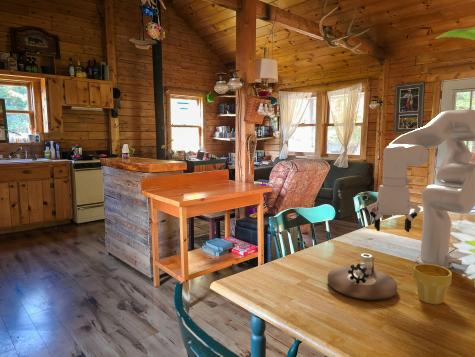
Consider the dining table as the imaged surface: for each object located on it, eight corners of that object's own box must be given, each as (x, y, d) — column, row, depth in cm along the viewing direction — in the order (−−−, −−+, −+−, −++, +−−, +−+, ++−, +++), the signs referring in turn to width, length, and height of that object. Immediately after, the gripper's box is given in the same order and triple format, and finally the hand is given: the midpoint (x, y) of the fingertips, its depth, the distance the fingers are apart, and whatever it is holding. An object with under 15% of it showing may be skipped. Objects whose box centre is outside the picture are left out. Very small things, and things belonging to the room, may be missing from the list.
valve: (357, 269, 121) (347, 281, 111) (358, 251, 120) (348, 262, 110) (376, 273, 117) (367, 286, 107) (377, 255, 116) (368, 266, 106)
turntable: (403, 280, 115) (404, 262, 114) (387, 307, 98) (389, 285, 97) (340, 265, 128) (341, 249, 127) (317, 286, 111) (317, 267, 110)
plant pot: (407, 299, 104) (409, 270, 103) (416, 288, 112) (418, 260, 110) (445, 311, 97) (448, 279, 96) (452, 298, 105) (455, 269, 103)
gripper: (418, 180, 116) (415, 228, 119) (365, 180, 120) (364, 226, 122) (425, 184, 109) (422, 234, 111) (369, 183, 113) (367, 232, 115)
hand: (392, 230), depth 117 cm, fingers open, 9 cm apart
